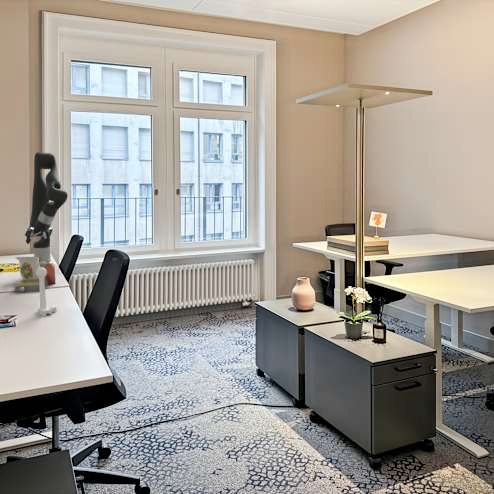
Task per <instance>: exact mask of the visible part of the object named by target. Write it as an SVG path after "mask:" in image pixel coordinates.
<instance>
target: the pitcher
mask: <svg viewBox="0 0 494 494" xmlns="http://www.w3.org/2000/svg"><path fill="white" fill-rule="evenodd" d="M14 259H16V260H18V263H19V273H20V276H21V278H22V279H21V280H24V279H39V277H38V276H37V275H36V270H37V269H38V268H40V264H45V263H46V262H44V261H42V262H39V257H34V256H15V257H14Z"/></svg>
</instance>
